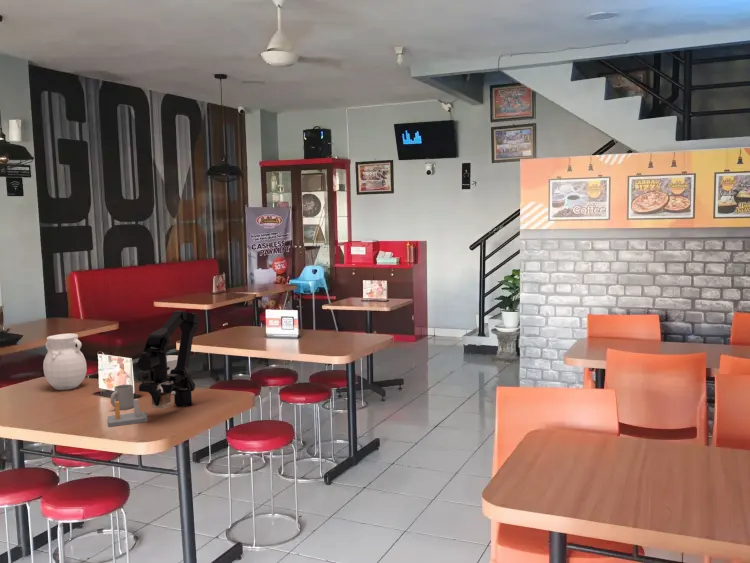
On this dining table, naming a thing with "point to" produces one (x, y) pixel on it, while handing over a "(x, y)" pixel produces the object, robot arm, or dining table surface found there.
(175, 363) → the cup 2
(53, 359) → the white handled vase
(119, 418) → the pin board
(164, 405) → the sleeve
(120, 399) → the cup
